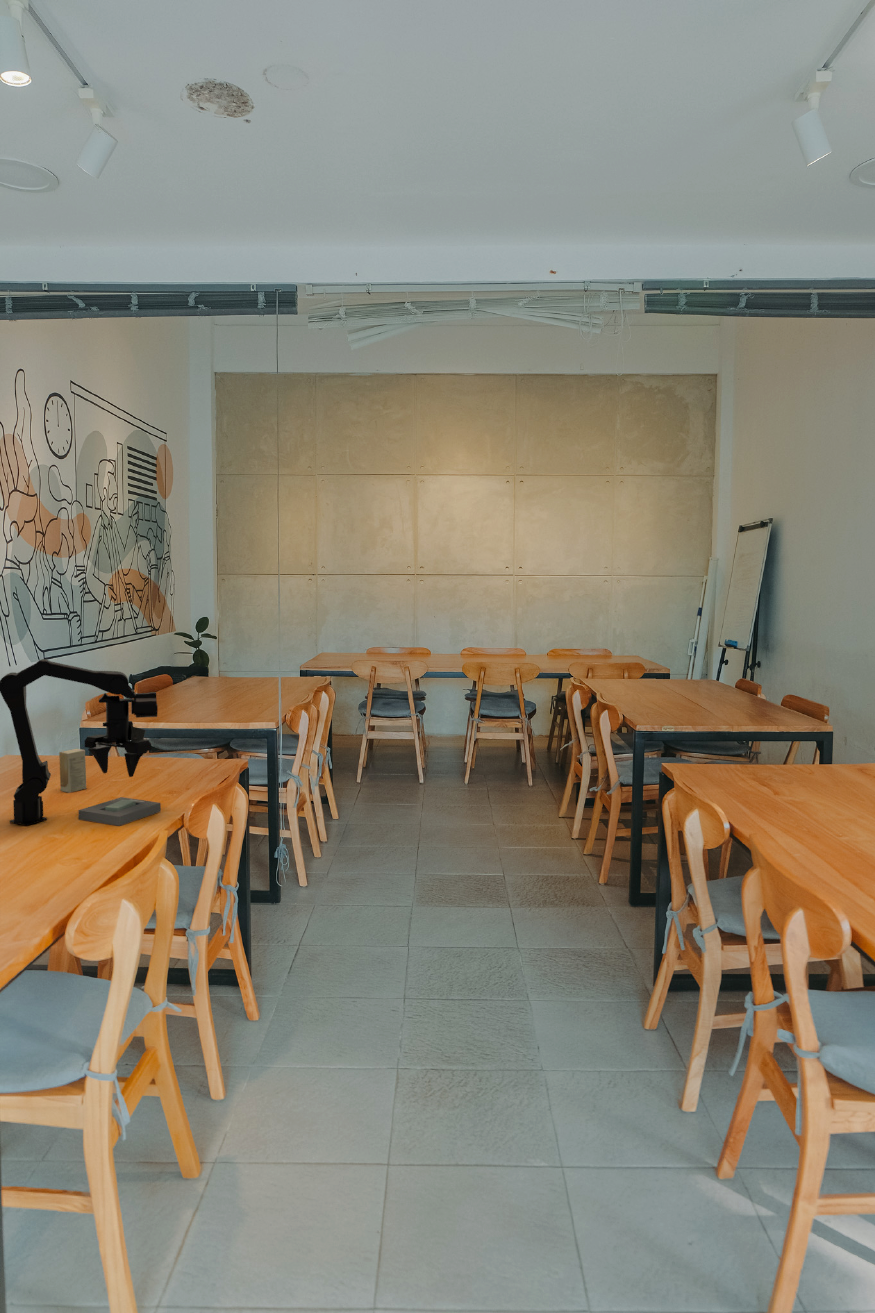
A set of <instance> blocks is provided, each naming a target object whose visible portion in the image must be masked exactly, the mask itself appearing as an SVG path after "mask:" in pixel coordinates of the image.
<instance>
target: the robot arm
mask: <svg viewBox="0 0 875 1313" xmlns="http://www.w3.org/2000/svg"><path fill="white" fill-rule="evenodd" d="M44 676H45V677H46V676H47V677H51V678H52V677H53V678H56V679H62V680H66V681H71V682H74V683H82V684H84V685H90V686H91V687H95V688H97V689H99V690H101V691H104V693H103V695H102V696H101V697H100V698H98V703H100V704H104V703H105V714H106V715H105V717H106V718H105V720H106V721H104V722H102V727H105V728H106V729H105V730H106V731H105V732H106V733H105V734H99V733H98V734H93V735H90V736H87V737H86V738H85V740H84V748H88V749H87V751H88V752H90V753H91V755H92V756H93V758H94V759H95V760H96V762H97V764H98V767H99V768H100V770H101V771H102V773H103V774H107V773H108V771H109V770H108V769H109V752H110V751H111V748H112V747H114V748H123V749H124V750H125V753H123V754H124V755H123V756H124V761H125V765H126V770H127V775H128V778H133V776H134V774H135V771H136V769H137V766H138V764H139V761H140V759H141V757H143V755H144V754H145V755H146V754H147V753H148V752H149V751H152V742H151V741H150V740H149V739H144V738H145V735H146V731H147V730H146V729H144V728H140V727H136V726H134V723H133V720H130V718H129V717H130V716H129V712H130V714H131V715H134V716H135V718H138V719H139V718H157V717H158V711H159V709H158V703H157V692H155V691H151V692H146V693H145V692H142V693H140V692H139V693H136V692H135V689H133V688H132V687H131V686H130V684H129V679H128V676H127V675H126V674H125V673H124V672H122V671H115V670H92V669H88V668H83V667H79V666H74V665H69V664H66V663H65V664H64V663H60V662H55V661H51V660H49V659H45V658H42V659H39V660H38V661H37V662H35V663H34V664H32V665H30V666H28V667H26V668H24V669H22V670H20V671H18V672H9V673H7V674H4V676H3V677H1V679H0V695H1V697H2V699H3V701H4V703H5V704H6V706H7V708H8V710H9V713H10V715H11V721H12V724H13V728H14V733H15V737H16V740H17V745H18V749H19V752H20V753H19V754H20V756H21V763H22V764H21V766H22V768H21V769H22V770H21V772H22V773H21V776H22V777H21V779H22V783H20V784H19V786H17V787H16V789H15V792H14V794H13V798H14V799H13V804H12V805H13V819H10V820H9V823H10V824H17V825H23V826H29V825H33V824H37V823H40V822H42V821H46V820H47V817H45V816H44V801H43V796H41V794H42V793H43V792H44V791H45V790H46V789H47V787H48V784H49V781H50V779H51V776H52V774H51V772H50V771H49V768H48V767H49V766H48V764H49V762H48V760H44V761H43V762H42V760H41V758H40V757H39V754H38V749H37V745H36V741H35V737H34V731H33V728H32V724H31V720H30V716H29V715H30V714H29V712H28V708H27V686H28V685H30V684H31V683H34V682H35V681H37V680H39V679H40V678H42V677H44ZM106 692H107V693H108V694H109V693H110V694H112V695H108V694H107V693H106ZM120 695H121V696H122V697H124V698H120V697H121V696H120ZM129 703H130V704H129ZM129 705H130V706H129ZM129 708H131V710H130V709H129ZM129 710H130V711H129Z"/></svg>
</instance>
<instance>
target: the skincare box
mask: <svg viewBox="0 0 875 1313" xmlns="http://www.w3.org/2000/svg"><path fill="white" fill-rule="evenodd" d="M58 754H59V756H58V757H59V780H60V784H59V785H60V792H65V793H68V794H69V793H74V792H77V791H81V790H85V789H87V767H86V766H87V765H86V750H85V749H81V748H73V749H69V750H63V751H59V752H58Z"/></svg>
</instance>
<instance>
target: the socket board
mask: <svg viewBox="0 0 875 1313" xmlns="http://www.w3.org/2000/svg"><path fill="white" fill-rule="evenodd" d="M121 800H133V801H136V805H135V806H132V807H129V808H125V809H122V810H119V811H116V812H113V811H106V810H105V807H106V806H109V805H111V804H113V803H116V802H118V801H121ZM161 805H162V804H161V802H157V801H152V800H144V799H138V798H137V799H136V798H131V797H124V796H123V797H122V796H120V797H117V798H114V799H110V800H108V801H105V802H101V803H98V804H95V805H91V806H88V807H84V808H81V809H78V811H77V812H78V820H81V821H85V822H91V823H92V822H93V823H99V824H105V825H109V826H118V827H120V826H124V825H126V824H129V823H132V822H136V821H138V820H141V819H143V818H146V817H147V818H148V817H149V816H152V815H155V814H157V813H161V810H162V809H161V807H162V806H161Z"/></svg>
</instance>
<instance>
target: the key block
mask: <svg viewBox="0 0 875 1313" xmlns="http://www.w3.org/2000/svg"><path fill="white" fill-rule="evenodd" d="M135 805H136V801H133V800H121V801H118V802H116V803H113V804H111V805H109V806H106V807H105V810H106V811H113V812H116V811H119V810H122V809H125V808H129V807H132V806H135Z"/></svg>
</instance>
